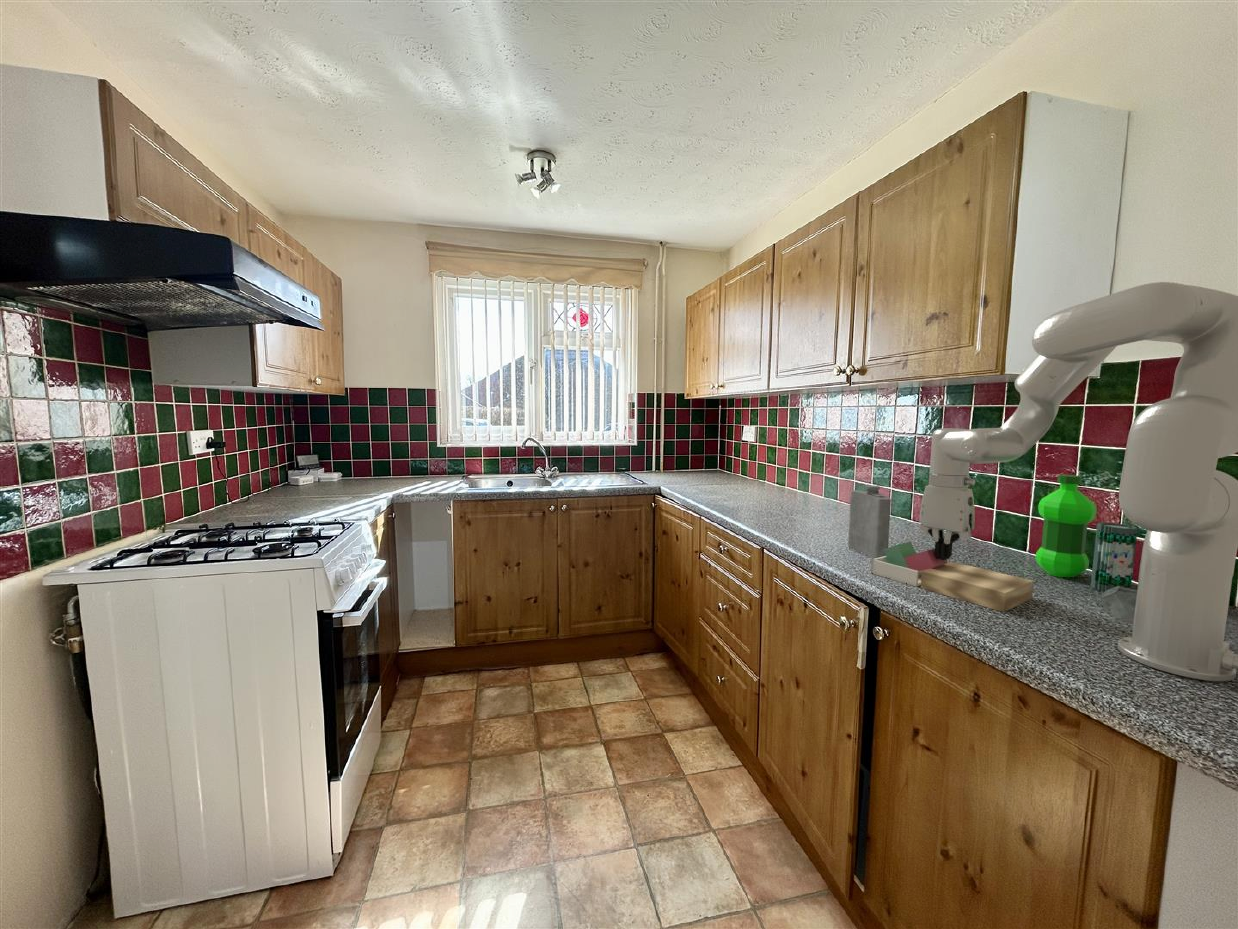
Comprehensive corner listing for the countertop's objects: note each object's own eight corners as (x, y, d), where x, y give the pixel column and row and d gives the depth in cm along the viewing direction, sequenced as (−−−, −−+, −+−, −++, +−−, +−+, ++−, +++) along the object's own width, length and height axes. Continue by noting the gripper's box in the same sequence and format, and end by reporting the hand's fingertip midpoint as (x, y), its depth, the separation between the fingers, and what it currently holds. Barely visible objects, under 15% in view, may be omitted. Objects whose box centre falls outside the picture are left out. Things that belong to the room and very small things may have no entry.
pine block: (1032, 598, 105) (1033, 580, 105) (1003, 612, 98) (1005, 593, 97) (951, 577, 119) (952, 561, 118) (920, 587, 111) (921, 571, 111)
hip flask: (845, 547, 146) (849, 481, 144) (858, 547, 146) (861, 481, 144) (878, 563, 130) (882, 490, 128) (892, 563, 130) (897, 489, 128)
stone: (1194, 635, 90) (1157, 601, 99) (1199, 618, 89) (1161, 585, 97) (1120, 632, 94) (1091, 600, 102) (1124, 616, 92) (1094, 584, 101)
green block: (910, 541, 123) (896, 546, 126) (897, 544, 119) (883, 549, 123) (921, 564, 120) (907, 568, 124) (908, 568, 117) (894, 572, 120)
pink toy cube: (947, 563, 115) (939, 547, 117) (934, 567, 112) (926, 550, 114) (924, 569, 120) (916, 554, 121) (911, 573, 117) (903, 557, 118)
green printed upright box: (1098, 592, 109) (1105, 527, 107) (1086, 583, 114) (1093, 521, 113) (1135, 596, 106) (1142, 529, 105) (1120, 587, 112) (1128, 524, 110)
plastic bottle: (1091, 584, 114) (1102, 479, 111) (1032, 575, 121) (1041, 475, 118) (1087, 574, 121) (1097, 475, 119) (1032, 565, 128) (1041, 472, 126)
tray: (946, 576, 119) (947, 562, 119) (916, 586, 112) (917, 571, 112) (901, 564, 129) (902, 551, 128) (870, 573, 122) (871, 559, 121)
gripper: (993, 484, 107) (987, 564, 109) (922, 477, 120) (918, 549, 122) (977, 487, 103) (971, 570, 105) (906, 479, 116) (901, 553, 118)
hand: (942, 558), depth 114 cm, fingers closed
